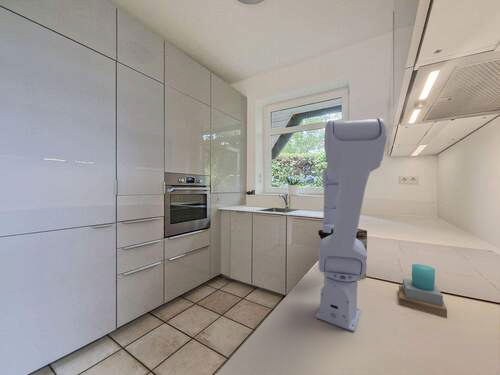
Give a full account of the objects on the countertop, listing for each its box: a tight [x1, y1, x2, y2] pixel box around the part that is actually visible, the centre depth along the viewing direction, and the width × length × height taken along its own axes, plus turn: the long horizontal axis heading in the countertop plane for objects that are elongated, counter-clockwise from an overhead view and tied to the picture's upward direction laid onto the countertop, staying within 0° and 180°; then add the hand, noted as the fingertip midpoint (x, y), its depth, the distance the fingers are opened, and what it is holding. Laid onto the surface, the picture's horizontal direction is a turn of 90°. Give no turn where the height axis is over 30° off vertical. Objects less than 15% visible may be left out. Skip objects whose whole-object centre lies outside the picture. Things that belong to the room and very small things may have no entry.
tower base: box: [398, 284, 448, 318], centre depth 55 cm, size 9×9×2 cm
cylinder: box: [411, 263, 436, 291], centre depth 55 cm, size 5×5×5 cm
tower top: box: [402, 277, 444, 306], centre depth 55 cm, size 7×7×2 cm
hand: (332, 252), depth 63 cm, fingers open, 7 cm apart
